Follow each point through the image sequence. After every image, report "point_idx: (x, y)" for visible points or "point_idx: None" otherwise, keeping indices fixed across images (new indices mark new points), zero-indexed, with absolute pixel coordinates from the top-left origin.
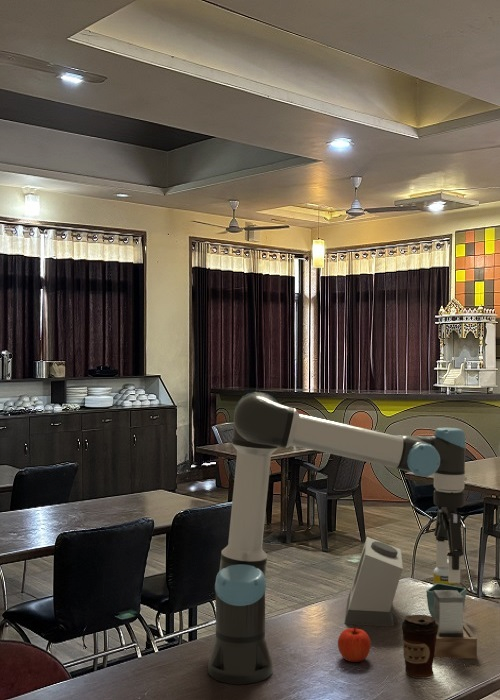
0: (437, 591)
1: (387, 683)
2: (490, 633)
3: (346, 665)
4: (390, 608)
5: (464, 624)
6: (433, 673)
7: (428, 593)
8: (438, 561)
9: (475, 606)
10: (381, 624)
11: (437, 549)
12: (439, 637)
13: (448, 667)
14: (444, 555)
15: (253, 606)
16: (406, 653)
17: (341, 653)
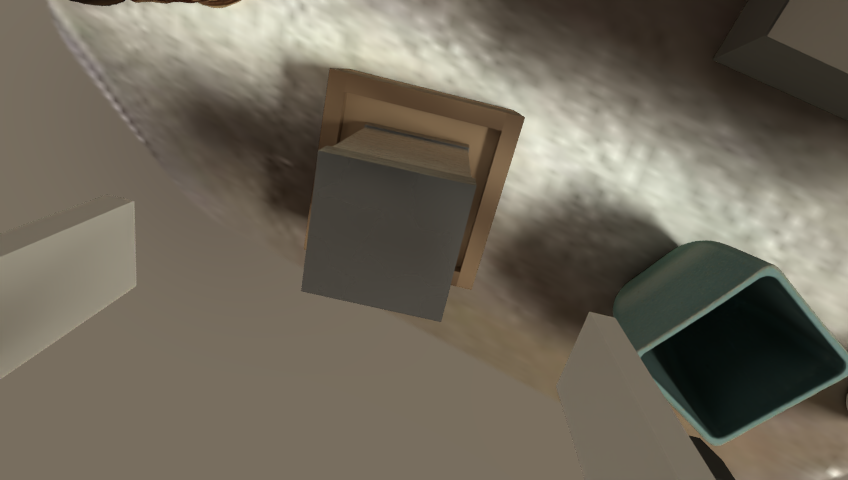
0: (445, 199)
1: None
2: (513, 365)
3: None
4: (777, 39)
5: (456, 278)
6: (198, 2)
7: (752, 266)
8: (598, 355)
9: (756, 442)
10: (750, 1)
11: (656, 446)
12: (336, 109)
13: (263, 93)
14: (592, 449)
15: None
16: None
17: None
